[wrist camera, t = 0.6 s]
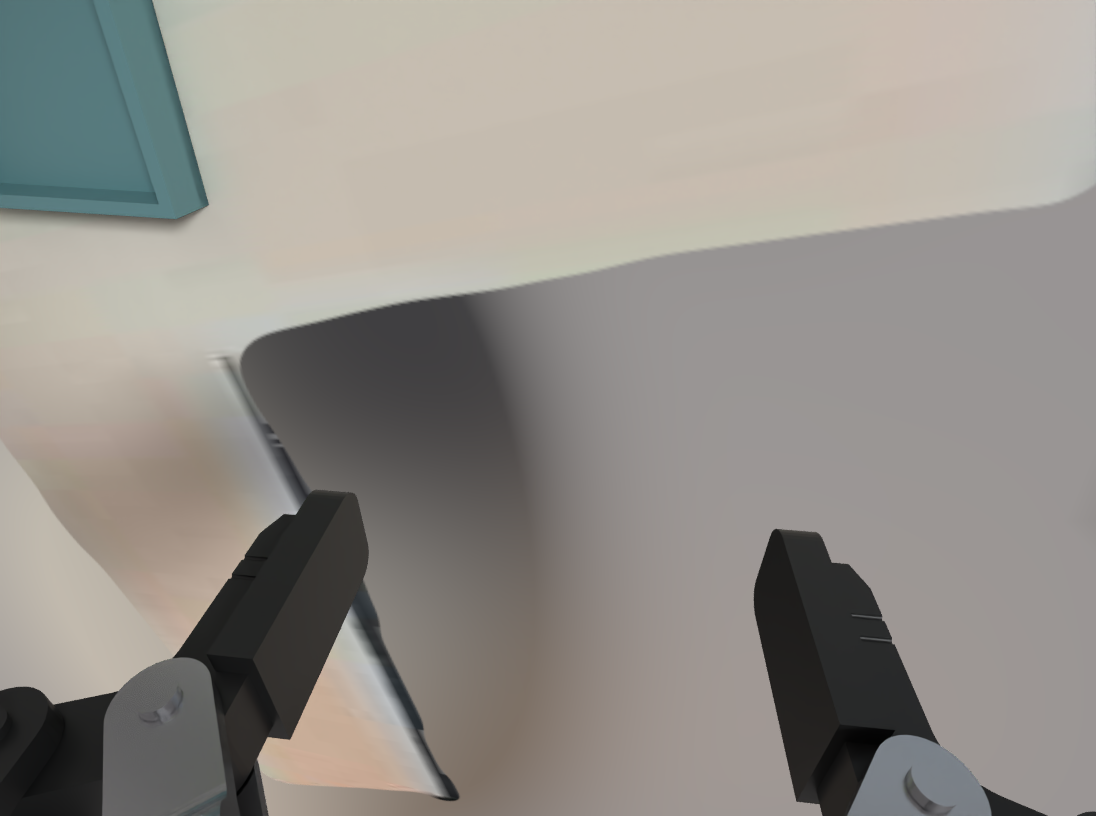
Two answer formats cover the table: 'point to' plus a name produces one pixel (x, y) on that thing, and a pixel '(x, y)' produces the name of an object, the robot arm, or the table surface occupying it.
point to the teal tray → (92, 112)
